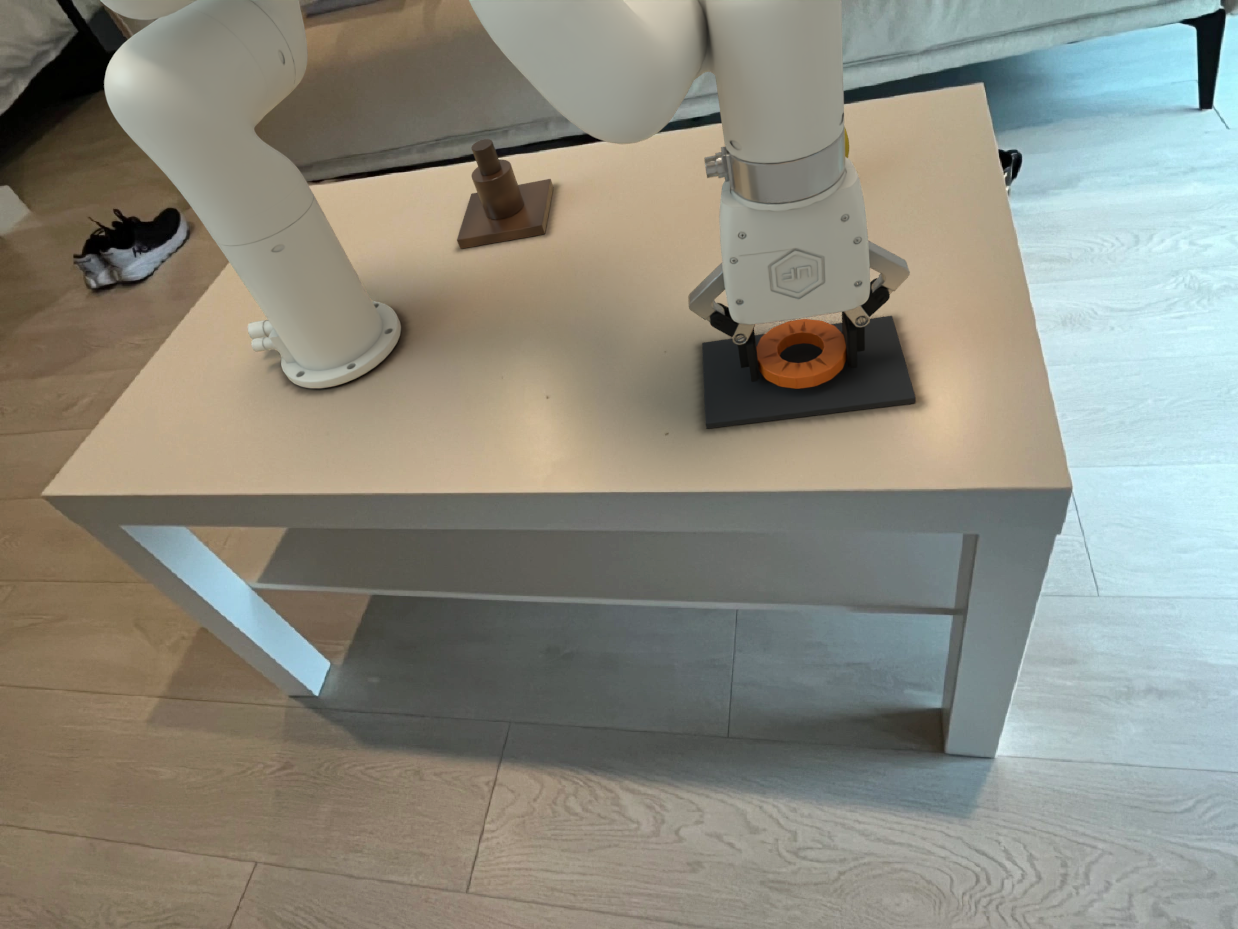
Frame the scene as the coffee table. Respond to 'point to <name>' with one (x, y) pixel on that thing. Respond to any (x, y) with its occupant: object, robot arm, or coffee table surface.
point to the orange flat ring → (807, 371)
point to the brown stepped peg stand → (502, 202)
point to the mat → (851, 389)
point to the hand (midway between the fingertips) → (801, 362)
